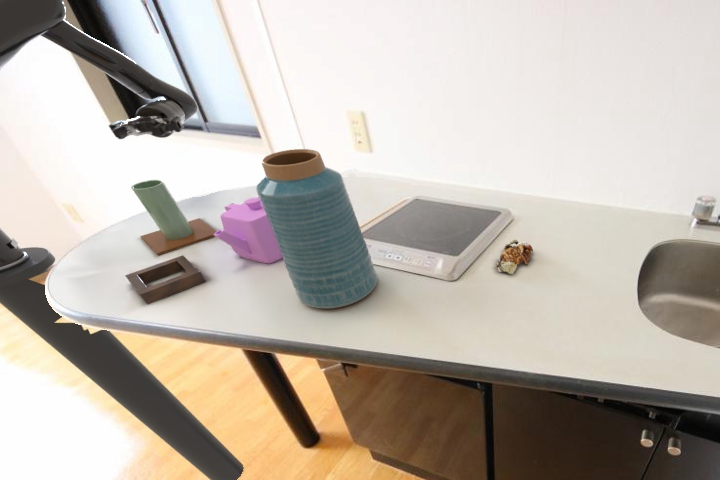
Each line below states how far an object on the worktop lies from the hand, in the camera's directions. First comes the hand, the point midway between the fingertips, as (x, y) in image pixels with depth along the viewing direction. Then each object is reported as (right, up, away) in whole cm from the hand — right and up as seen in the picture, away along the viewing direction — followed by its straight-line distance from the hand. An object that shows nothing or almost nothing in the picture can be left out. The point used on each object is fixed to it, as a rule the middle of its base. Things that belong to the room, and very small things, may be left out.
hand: (138, 133), depth 88 cm
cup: (+4, -23, +7) cm, 24 cm away
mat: (+4, -23, +8) cm, 25 cm away
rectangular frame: (+16, -38, -8) cm, 42 cm away
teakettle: (+32, -28, +3) cm, 43 cm away
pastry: (+92, -32, -2) cm, 98 cm away
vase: (+54, -40, -10) cm, 68 cm away
